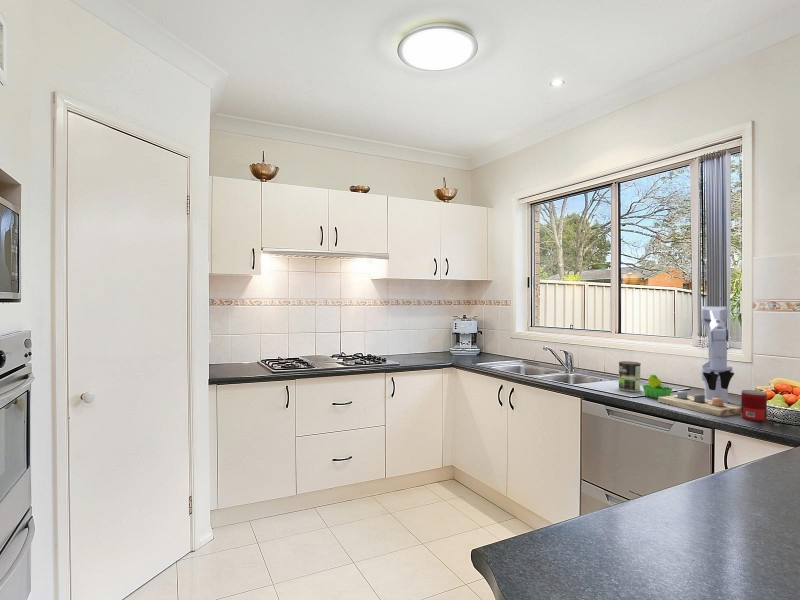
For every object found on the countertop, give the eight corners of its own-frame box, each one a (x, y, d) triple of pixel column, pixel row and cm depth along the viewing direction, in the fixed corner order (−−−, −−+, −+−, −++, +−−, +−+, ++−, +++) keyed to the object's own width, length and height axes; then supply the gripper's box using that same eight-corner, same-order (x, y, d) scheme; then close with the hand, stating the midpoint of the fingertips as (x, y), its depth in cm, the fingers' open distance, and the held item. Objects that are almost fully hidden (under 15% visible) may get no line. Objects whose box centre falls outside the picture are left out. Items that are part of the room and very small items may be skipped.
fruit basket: (673, 399, 224) (673, 375, 224) (661, 400, 220) (661, 376, 220) (651, 394, 235) (651, 371, 235) (639, 396, 231) (639, 372, 231)
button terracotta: (716, 405, 202) (716, 397, 202) (725, 407, 198) (726, 399, 198) (710, 406, 201) (710, 398, 201) (719, 408, 197) (719, 399, 197)
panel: (682, 399, 223) (682, 394, 223) (745, 413, 197) (745, 407, 197) (657, 402, 217) (658, 396, 217) (719, 416, 191) (719, 410, 191)
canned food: (770, 422, 182) (771, 394, 182) (747, 421, 184) (747, 393, 184) (759, 417, 190) (760, 390, 190) (737, 416, 191) (737, 389, 191)
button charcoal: (698, 401, 209) (698, 393, 209) (707, 403, 206) (707, 395, 206) (692, 402, 208) (692, 394, 208) (700, 404, 204) (701, 396, 204)
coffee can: (625, 391, 241) (626, 364, 241) (614, 387, 251) (614, 361, 251) (644, 391, 242) (645, 363, 242) (632, 387, 252) (633, 361, 252)
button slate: (681, 398, 217) (681, 390, 217) (689, 400, 213) (689, 392, 213) (675, 399, 215) (675, 391, 215) (683, 400, 212) (683, 392, 212)
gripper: (716, 358, 193) (715, 392, 193) (740, 357, 198) (739, 389, 198) (699, 356, 199) (699, 389, 199) (723, 355, 205) (722, 386, 205)
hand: (718, 389), depth 199 cm, fingers open, 7 cm apart
